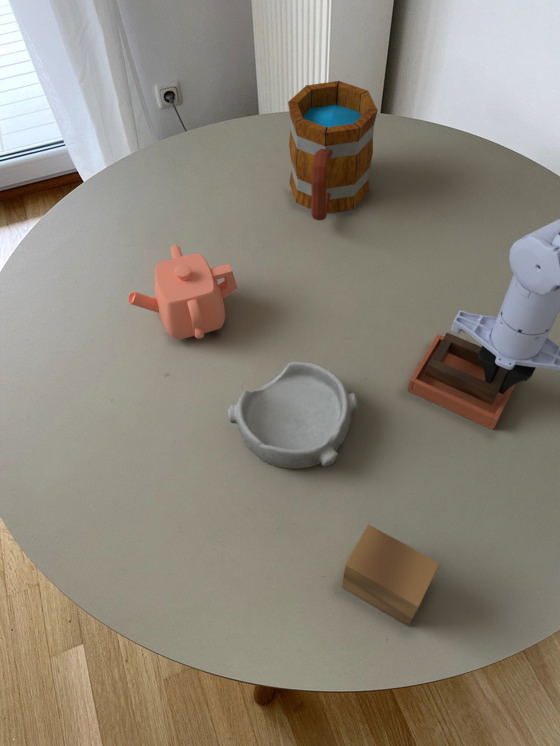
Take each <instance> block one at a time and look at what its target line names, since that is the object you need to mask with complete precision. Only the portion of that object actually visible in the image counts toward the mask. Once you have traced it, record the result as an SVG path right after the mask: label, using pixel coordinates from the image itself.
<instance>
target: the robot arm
mask: <svg viewBox="0 0 560 746" xmlns="http://www.w3.org/2000/svg"><path fill="white" fill-rule="evenodd" d="M509 266H510V270H511V272H512V274H513V275H512V278H511V281H510V283H509V285H508V288H507V291H506V293H505V296H504V298H503V301H502V303H501V307H500V309H499V311H498V315H497V316H492V315H483V314H476V313H471V312H467V311H464V310H461V309H460V310H459V311H458V313H457V314H456V316H455V318H454V319H453V322H452V325H451V329H450V332H453V333H454V334H457V335H460V334H461V332H463V333H466V334H467V335H469V336H470V337H472V338H473V340H475V341H476V342H478V343H479V344H480V345H481V347H482V348H481V349H480V351H479V354H478V360H479V362H480V363H481V364H482V367H483V369H484V374H485V382H488V383H490V384H491V382H492V380H493V378H494V377H495V375H496V373H497V371H498V369H499V366H501V367H503V368H505V369H508V370H509V372H508V374H507V376H506V378H505V380H504V382H503V384H502V386H501V388H500V390H499V393H501V394H504V393H505V392H506V391H507V390H508V389H509V388H510V387H511V386H513V385H514V384H515V385H516V384H519V383H521V382H525V381H526V382H527V381H529V380H530V378H532V376H533V375H534V372H535V371H536V368H537V369H542V370H544V369H545V370H551V371H555V372H556V371H557V372H559V373H560V345H559V344H557V342H555V341H553V340H552V339H551V338H549V337H548V336H549V334H550V332H551V331H552V329H553V326H554V324H555V323H556V320H557V318H558V316H559V314H560V218H559V219H556V220H554V221H553V222H551V223H548V224H546V225H545V226H542V227H540V228H538V229H536V230H534V231H532V232H530V233H528V234H525V235H524V236H522V237H520V239H518V240H516V241H515V242H514V243H513V244H512V245H511V247H510V250H509Z"/></svg>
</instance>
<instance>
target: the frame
mask: <svg viewBox="0 0 560 746" xmlns="http://www.w3.org/2000/svg"><path fill="white" fill-rule="evenodd" d="M443 336H444V338H443V340H442V341H441V343H440V345H439V346H438V348H437V350H436V352H435V353H434V355H433V357H432V358H431V360H430V362H429V363H428V366H427V370H426V373H425V375H426V376H428V377H430V378H432V379H435V380H437V381H439V382H441V383H444V384H446V385H448V386H450V387H453V388H455V389H457V390H459V391H461V392H464V393H466V394H468V395H470V396H473V397H475V398H477V399H479V400H482V401H484V402H486V403H488V404H490V405H492V404H493V402H494V400H495V398H496V396H497V394H498V392H499V390H500V388H501V386H502V384H503V382H504V380H505V378H506V376H507V374H508V372H509V370H508V369H505V368H503V367H501V366H499V369H498V371H497V373H496V375H495V377H494V378H493V380H492V382H491V384H490V383H488V382H485V381H483V380H481V379H479V378H476V377H474V376H472V375H469V374H467V373H465V372H463V371H460V370H458V369H456V368H453V367H451V366H449V365H447V364H444V363H443V362H444V360H445V358H446V357H447V355H448V353H450V354H452V355H454V356H457V357H459V358H461V359H464V360H466V361H468V362H471V363H473V364H475V365H478V366H480V367H482V364H481V363H480V362H479V360H478V354H479V351H480V349H481V348H482V345H481V346H480V345H479V344H476V343H473V342H471V341H468V340H467V339H464V338H461V337H460V336H457V335H454V334H452V333H449V332H446V333H445V335H443ZM482 368H483V367H482Z"/></svg>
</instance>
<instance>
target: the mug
mask: <svg viewBox="0 0 560 746" xmlns="http://www.w3.org/2000/svg"><path fill="white" fill-rule="evenodd" d="M287 104H288V111H289V120H290V121H289V123H290V125H289V126H290V127H289V129H290V131H289V142H288V146H289V147H288V148H289V156H290V175H289V176H290V177H289V185H290V189H291V191H292V195H293V198H294V201H295V203H296V204H298V205H301V206H303V207H305V208H308V209H310V210H311V212H310V213H311V218H313V220H316V221H324V220H325V219H326V218H327V216H328V214H331V213H336V212H337V213H338V212H342V211H350V210H354V209H355V208H356V207H357V206H358V205H359V204H360V202H361V201H362V200H363V199H364V198H365V197H366V196H367V194H368V193H369V192H370V182H369V180H370V178H369V177H370V170H371V164H372V159H373V154H374V131H375V130H374V129H375V122H376V118H377V114H378V108H377V105H376V104H375V101H374V99H373V98H372V95H371V94H370V91H369V90H367V89H364V88H362V87H358V86H356V85H352V84H349V83H346V82H344V81H341V80H336V81H328V82H321V83H314V84H307V85H305V86H304V87H303V88H302V89H300V90H299V92H297V93H296V94H295V95H294V96H293V97H292V98H290V100H289V101H287Z"/></svg>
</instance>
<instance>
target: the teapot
mask: <svg viewBox="0 0 560 746" xmlns="http://www.w3.org/2000/svg"><path fill="white" fill-rule="evenodd" d="M170 253H171V258H169V259H166V260H163V261H159V262H157V263H156V264H155V269H154V295H155V296H154V297H153V296H149V295H146V294H143V293H140V292H137V291H130V293H129V295H128V297H127V303H128V304H129V305H132V306H135V307H138V308H141V309H145V310H148V311H150V312H154V313H158V316H159V318H160V320H161V322H162V323H161V324H162V325H163V327H164V328H165V330H166V332H167V333H168V335H169V336H170V337H171V338H173V339H174V340H181V339H186V338H191V337H195V338H196V339H202V338H204V337H205V334H206V333H207V334H208V333H210V332H214V331H217V330H219V329H221V328H222V327H223V325H224V323H225V320H226V310H225V309H226V308H225V303H224V299H226V298H227V297H228V296H229V295H231V294H232V293H234V292H236V290H238V289H239V288H238V284H237V282H236V278H235V274H234V271H233V269H232V267H231V264H230V263H227V264H223V265H219V266H215V267H210V265H209V263H208V261H207V259H206V258H205V256H204V255H203V254H202V253H200V252H198V253H191V254H186V255H183V253H182V249H181V247H180V246H179V245H178V244H173V245H172V246H171V247H170ZM223 278H224V280H223V281H222V282H219V283H218V280H220V279H223Z"/></svg>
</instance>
